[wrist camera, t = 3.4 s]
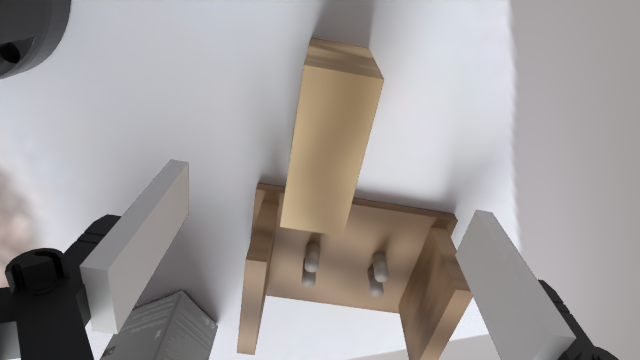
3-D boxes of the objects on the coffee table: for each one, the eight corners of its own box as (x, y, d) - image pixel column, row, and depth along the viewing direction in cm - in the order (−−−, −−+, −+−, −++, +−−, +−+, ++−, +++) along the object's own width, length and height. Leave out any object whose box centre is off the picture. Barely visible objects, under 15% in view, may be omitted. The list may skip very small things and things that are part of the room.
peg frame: (258, 182, 30) (237, 246, 23) (454, 213, 32) (489, 283, 25) (247, 284, 36) (228, 359, 29) (412, 307, 38) (431, 384, 31)
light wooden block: (291, 166, 30) (279, 226, 23) (310, 37, 25) (304, 64, 18) (339, 174, 30) (342, 236, 23) (368, 48, 25) (384, 79, 18)
